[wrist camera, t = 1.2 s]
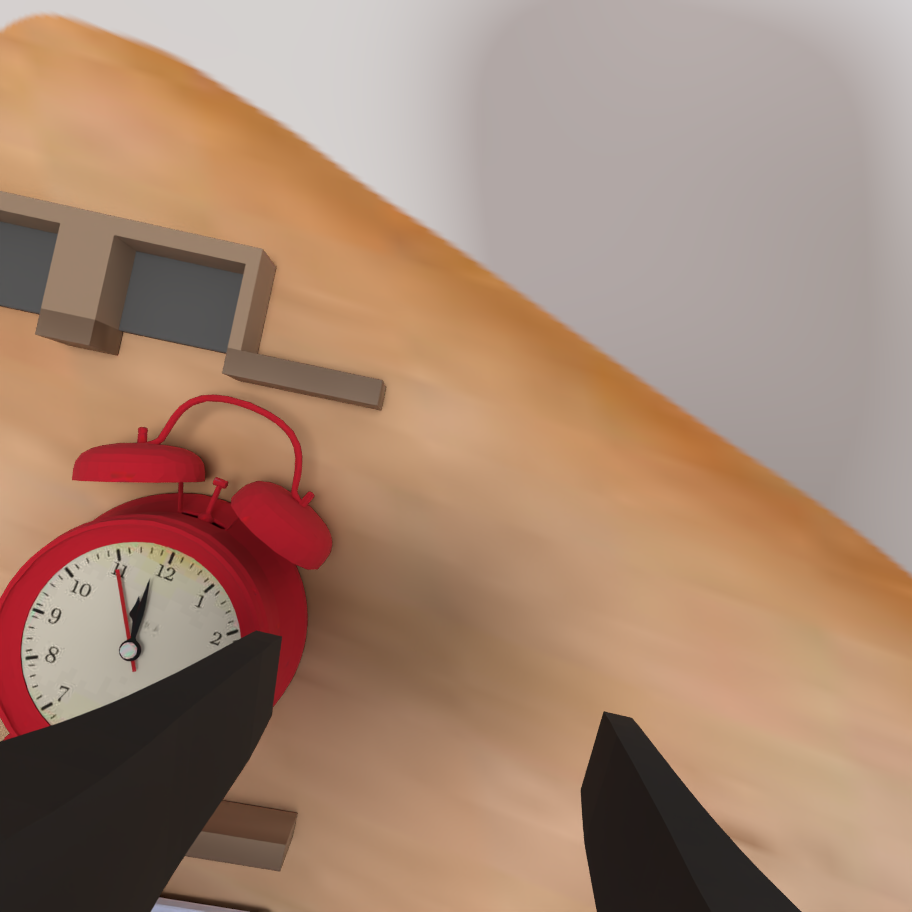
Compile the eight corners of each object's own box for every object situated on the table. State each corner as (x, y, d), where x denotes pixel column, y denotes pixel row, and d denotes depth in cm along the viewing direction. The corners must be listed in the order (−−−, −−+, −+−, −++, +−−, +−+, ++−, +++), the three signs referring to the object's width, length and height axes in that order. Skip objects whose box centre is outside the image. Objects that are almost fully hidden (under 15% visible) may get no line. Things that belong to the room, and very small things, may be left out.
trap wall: (292, 837, 21) (274, 886, 19) (-241, 749, 20) (-333, 788, 18) (386, 387, 22) (380, 377, 19) (-129, 278, 21) (-204, 253, 18)
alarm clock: (-90, 773, 18) (1, 350, 15) (56, 664, 24) (140, 351, 21) (204, 876, 18) (349, 485, 15) (272, 743, 24) (384, 447, 21)
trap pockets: (255, 359, 22) (240, 350, 20) (-65, 292, 21) (-111, 276, 19) (276, 266, 22) (262, 248, 20) (-43, 196, 21) (-86, 171, 19)
